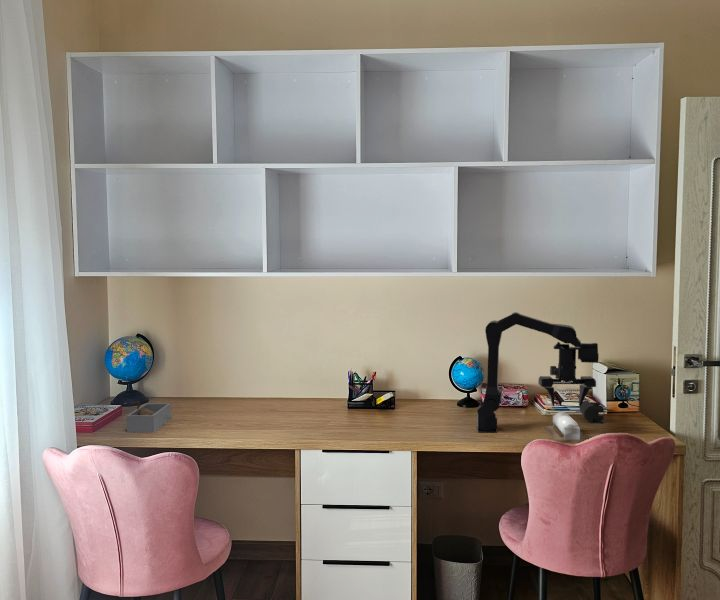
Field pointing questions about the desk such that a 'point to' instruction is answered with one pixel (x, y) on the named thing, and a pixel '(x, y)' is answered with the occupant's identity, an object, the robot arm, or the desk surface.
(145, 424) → the box
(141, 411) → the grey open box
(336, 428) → the desk surface
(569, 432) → the roll holder
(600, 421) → the end cap
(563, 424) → the paper roll
